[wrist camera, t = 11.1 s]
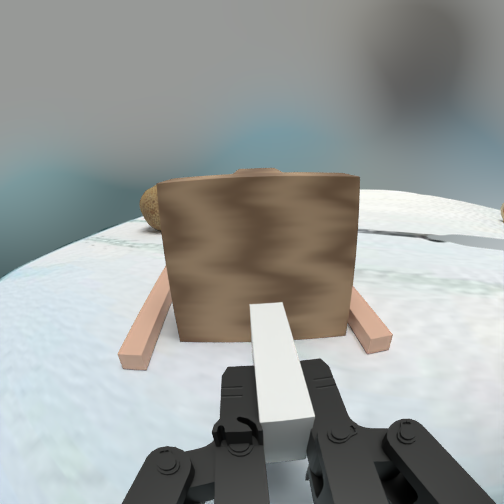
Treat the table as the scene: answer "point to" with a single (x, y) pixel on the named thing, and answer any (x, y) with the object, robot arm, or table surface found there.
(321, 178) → the tee block
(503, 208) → the bird rattle
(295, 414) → the robot arm
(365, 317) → the dock
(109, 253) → the table surface
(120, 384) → the table surface
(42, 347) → the table surface
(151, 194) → the brown round lump
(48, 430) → the table surface
